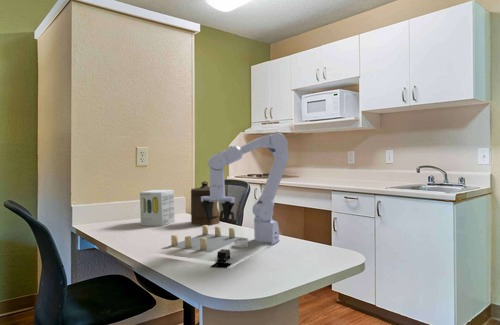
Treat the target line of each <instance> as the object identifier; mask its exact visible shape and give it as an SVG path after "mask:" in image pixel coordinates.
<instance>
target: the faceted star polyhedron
mask: <svg viewBox="0 0 500 325" xmlns="http://www.w3.org/2000/svg"><path fill="white" fill-rule="evenodd" d="M233 247H234V248H238V249H239V248H240V249H242V248H248V247H249V238H248V237H247V238H246V237H243V238H236V239H235V240H234V242H233Z"/></svg>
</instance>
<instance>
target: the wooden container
mask: <svg viewBox="0 0 500 325" xmlns="http://www.w3.org/2000/svg"><path fill="white" fill-rule="evenodd" d="M208 185H209V182H208V181H205V180H204V181H202V182H201V186H200V187H195V188H191V189H190V218H191V219H190V220H191V221H190V223H191V224H192V225H194V226H203V225H208V226H213V224H214V225H217V224H219V223H220V202H214V204H213V210H212V214H213V217H212V220H208V218H207V215H206V212H205V210H204V208H203V206H202V203H203V202H202V201H201V197H202V196H210V185H209V186H208Z"/></svg>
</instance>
